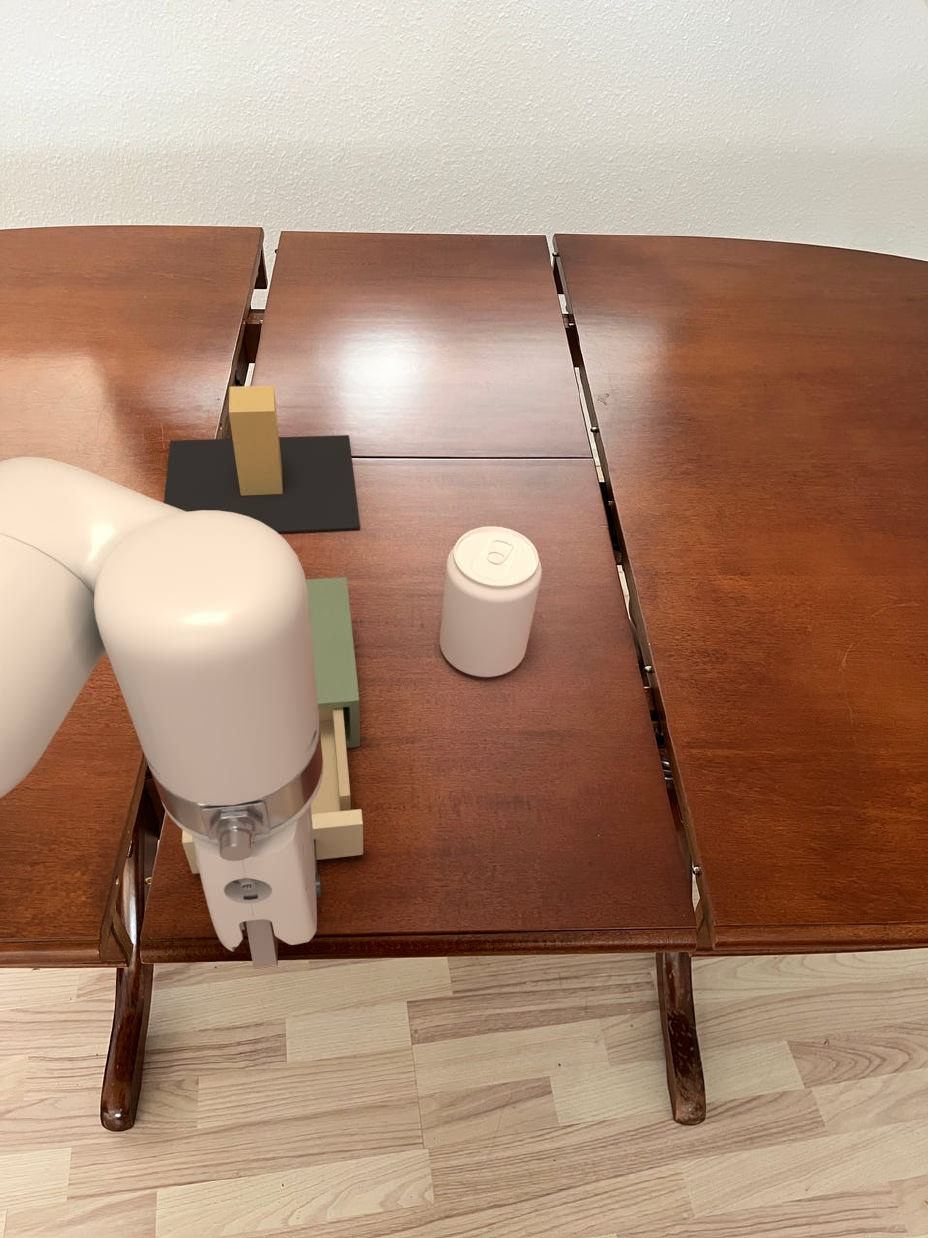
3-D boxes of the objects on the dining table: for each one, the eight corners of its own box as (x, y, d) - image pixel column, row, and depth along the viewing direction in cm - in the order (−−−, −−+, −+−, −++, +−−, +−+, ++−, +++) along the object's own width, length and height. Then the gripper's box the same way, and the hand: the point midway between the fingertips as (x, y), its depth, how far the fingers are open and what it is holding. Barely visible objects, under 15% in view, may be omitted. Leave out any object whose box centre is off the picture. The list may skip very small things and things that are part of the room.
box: (240, 495, 91) (228, 411, 83) (241, 470, 94) (229, 386, 86) (282, 494, 92) (274, 410, 84) (281, 468, 95) (274, 385, 87)
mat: (160, 539, 86) (160, 536, 86) (170, 443, 97) (170, 440, 96) (360, 530, 90) (360, 527, 89) (348, 437, 100) (348, 434, 100)
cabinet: (360, 747, 72) (359, 700, 67) (192, 762, 70) (178, 715, 65) (348, 625, 81) (346, 576, 76) (198, 635, 78) (187, 585, 74)
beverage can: (426, 664, 78) (433, 571, 69) (456, 605, 84) (467, 511, 75) (509, 693, 77) (528, 601, 68) (535, 630, 82) (555, 538, 73)
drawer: (368, 909, 62) (368, 880, 58) (189, 931, 60) (178, 902, 56) (350, 719, 73) (349, 684, 69) (199, 732, 70) (190, 697, 67)
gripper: (331, 900, 35) (345, 1038, 48) (314, 626, 45) (329, 805, 58) (138, 924, 34) (208, 1059, 47) (164, 637, 43) (215, 817, 57)
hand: (275, 918), depth 53 cm, fingers closed
